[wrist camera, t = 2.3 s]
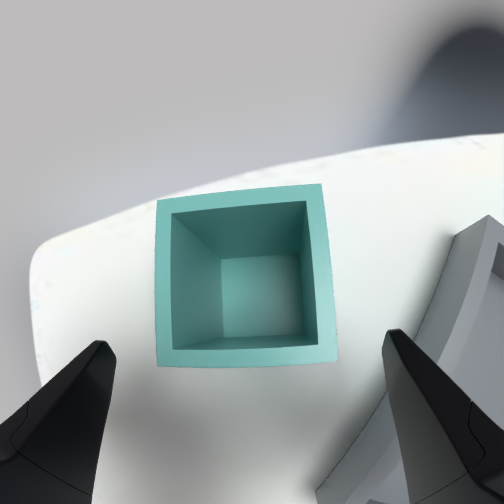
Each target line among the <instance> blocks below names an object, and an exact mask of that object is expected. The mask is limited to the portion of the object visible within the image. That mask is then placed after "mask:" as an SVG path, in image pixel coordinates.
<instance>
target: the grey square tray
mask: <svg viewBox="0 0 504 504" xmlns="http://www.w3.org/2000/svg"><path fill="white" fill-rule="evenodd" d="M414 342H415V343H416V344H417V345H418V346H419V347H420V348H421V349H422V350H423V351H424V352H425V353H426V354H427V355H428V356H429V357H430V358H431V359H432V360H433V361H434V362H435V363H436V364H437V365H438V366H439V367H440V368H441V369H442V370H443V371H444V372H445V373H446V374H447V375H448V376H449V377H450V378H451V379H452V380H453V381H454V382H455V383H456V384H457V385H458V386H459V387H460V388H461V389H462V390H463V391H464V392H465V393H466V394H467V395H468V396H469V397H470V398H471V401H474V402H475V403H476V405H477V406H478V407H479V408H480V409H481V410H482V411H483V412H484V413H485V414H486V415H487V416H488V417H489V418H490V419H492V420H493V421H494V422H495V423H496V424H497V425H498V426H499V427H500V428H502V429H503V430H504V226H503V225H502V224H500V223H499V222H498V221H497V220H495V219H494V218H493V217H491V216H490V215H487V216H485V217H484V218H482V219H481V220H479V221H477V222H476V223H474V224H473V225H471V226H469V227H468V228H466V229H464V230H463V231H461V232H459V233H458V234H456V235H455V237H454V240H453V243H452V247H451V250H450V253H449V256H448V259H447V261H446V264H445V267H444V270H443V273H442V275H441V278H440V281H439V283H438V286H437V289H436V291H435V294H434V296H433V299H432V301H431V303H430V306H429V308H428V310H427V313H426V315H425V317H424V320H423V322H422V324H421V326H420V328H419V331H418V333H417V335H416V337H415V339H414ZM316 496H317V503H318V504H410V502H409V496H408V489H407V483H406V478H405V472H404V467H403V461H402V456H401V451H400V446H399V442H398V437H397V432H396V428H395V423H394V419H393V415H392V411H391V407H390V403H389V398H388V392H386V393H385V395H384V397H383V398H382V400H381V402H380V403H379V405H378V407H377V408H376V410H375V411H374V413H373V415H372V416H371V418H370V419H369V421H368V422H367V424H366V425H365V427H364V428H363V430H362V431H361V433H360V434H359V436H358V437H357V439H356V440H355V441H354V443H353V444H352V446H351V447H350V448H349V450H348V451H347V453H346V454H345V455H344V457H343V458H342V459H341V461H340V462H339V463H338V465H337V466H336V467H335V468H334V470H333V471H332V472H331V473H330V475H329V476H328V477H327V478H326V480H325V481H324V482H323V483H322V485H321V486H320V487H319V488H318V489H317V490H316Z"/></svg>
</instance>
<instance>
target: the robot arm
mask: <svg viewBox="0 0 504 504" xmlns="http://www.w3.org/2000/svg"><path fill="white" fill-rule="evenodd" d="M382 357H383V364H384V370H385V377H386V385H387V392H388V398H389V403H390V407H391V411H392V415H393V419H394V423H395V428H396V432H397V437H398V442H399V446H400V451H401V456H402V461H403V467H404V472H405V478H406V483H407V489H408V496H409V502H410V504H504V430H503V429H502V428H500V427H499V426H498V425H497V424H496V423H495V422H494V421H493V420H492V419H490V418H489V417H488V416H487V415H486V414H485V413H484V412H483V411H482V410H481V409H480V408H479V407H478V406H477V405H476V403H475V402H474V401H471V398H470V397H469V396H468V395H467V394H466V393H465V392H464V391H463V390H462V389H461V388H460V387H459V386H458V385H457V384H456V383H455V382H454V381H453V380H452V379H451V378H450V377H449V376H448V375H447V374H446V373H445V372H444V371H443V370H442V369H441V368H440V367H439V366H438V365H437V364H436V363H435V362H434V361H433V360H432V359H431V358H430V357H429V356H428V355H427V354H426V353H425V352H424V351H423V350H422V349H421V348H420V347H419V346H418V345H417V344H416V343H415V342H414V341H413V340H411V339H410V338H409V337H408V336H407V335H406V334H405V333H404V332H403V331H402V330H401V329H392V330H388V331H387V332H386V335H385V339H384V342H383V346H382ZM115 368H116V356H115V354H114V352H113V351H112V349H111V348H110V346H109V344H108V343H107V342H106V341H103V340H95V341H94V342H92V343H91V344H90V345H89V346H88V347H87V348H86V349H84V350H83V351H82V352H81V353H80V354H79V355H78V356H77V357H75V358H74V359H73V360H72V361H71V362H70V363H69V364H68V365H66V366H65V367H64V368H63V369H62V370H61V371H60V372H59V373H58V374H56V375H55V376H54V377H53V378H52V379H51V380H50V381H49V382H48V383H47V384H45V385H44V386H43V387H42V388H41V389H40V390H39V391H38V392H37V393H36V394H35V395H33V396H32V397H31V398H30V399H29V401H27V402H26V403H25V404H24V405H23V406H22V407H21V408H19V409H18V410H17V411H16V412H15V413H14V414H13V415H12V416H10V417H9V418H8V419H7V420H5V421H4V422H3V423H2V424H0V504H91V502H92V494H93V487H94V481H95V475H96V469H97V463H98V458H99V452H100V447H101V442H102V437H103V432H104V428H105V423H106V419H107V414H108V410H109V406H110V401H111V395H112V388H113V381H114V374H115Z"/></svg>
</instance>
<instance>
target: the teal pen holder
mask: <svg viewBox="0 0 504 504" xmlns="http://www.w3.org/2000/svg"><path fill="white" fill-rule="evenodd" d="M155 326H156V349H157V366H164V367H194V368H238V367H268V366H287V365H301V364H314V363H325V362H334V361H338V354H337V334H336V317H335V303H334V291H333V279H332V268H331V258H330V249H329V240H328V231H327V223H326V215H325V207H324V200H323V193H322V186H321V184H308V185H294V186H281V187H269V188H258V189H247V190H237V191H227V192H218V193H209V194H201V195H193V196H185V197H177V198H170V199H162V200H157V211H156V234H155Z"/></svg>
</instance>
